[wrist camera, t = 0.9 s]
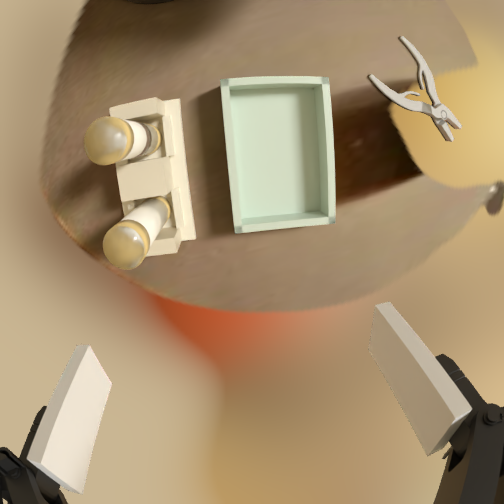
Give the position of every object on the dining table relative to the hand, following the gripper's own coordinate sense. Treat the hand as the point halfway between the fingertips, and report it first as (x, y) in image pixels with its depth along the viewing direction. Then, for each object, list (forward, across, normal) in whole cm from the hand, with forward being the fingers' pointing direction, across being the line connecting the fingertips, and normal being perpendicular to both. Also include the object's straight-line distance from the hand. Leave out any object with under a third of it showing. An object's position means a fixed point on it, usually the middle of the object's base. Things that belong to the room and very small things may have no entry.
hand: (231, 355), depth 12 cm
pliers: (+24, +28, +13) cm, 39 cm away
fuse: (+22, -8, +2) cm, 23 cm away
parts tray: (+23, +7, +6) cm, 25 cm away
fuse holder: (+23, -8, +6) cm, 25 cm away
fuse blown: (+22, -7, +10) cm, 25 cm away
